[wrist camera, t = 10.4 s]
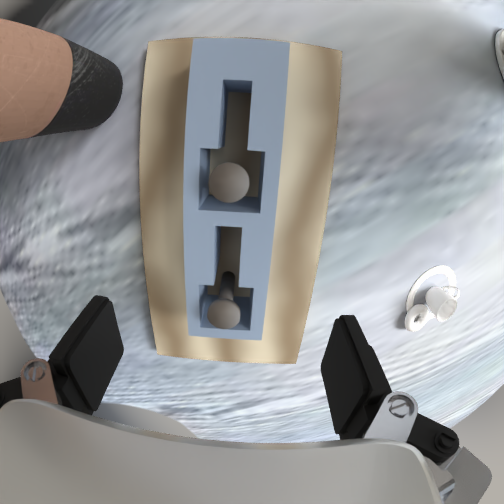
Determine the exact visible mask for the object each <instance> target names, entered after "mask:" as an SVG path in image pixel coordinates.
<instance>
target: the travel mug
mask: <svg viewBox="0 0 504 504" xmlns="http://www.w3.org/2000/svg"><path fill="white" fill-rule="evenodd" d="M122 88H123V82H122V76H121V73H120V71H119V69H118V67H117V66H116V65H115V64H114V63H112V62H111V61H109V60H108V59H106V58H104V57H102V56H100V55H98V54H96V53H94V52H92V51H90V50H88V49H86V48H84V47H82V46H80V45H78V44H76V43H74V42H71V41H69V40H67V39H65V38H63V37H60V36H58V35H55V34H52V33H49V32H47V31H44V30H40V29H37V28H34V27H30V26H27V25H24V24H20V23H17V22H13V21H9V20H5V19H1V18H0V142H4V141H11V140H17V139H24V138H30V137H36V136H42V135H48V134H54V133H61V132H69V131H77V130H85V129H90V128H93V127H96V126H98V125H100V124H101V123H103V122H104V121H105V120H106V119H108V118H109V117H110V115H111V114H112V113H113V112H114V110H115V109H116V107H117V105H118V103H119V100H120V98H121V94H122Z"/></svg>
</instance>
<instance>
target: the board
mask: <svg viewBox="0 0 504 504" xmlns="http://www.w3.org/2000/svg"><path fill="white" fill-rule="evenodd" d="M194 38H243V37H194ZM248 39H260V38H248ZM263 40H271V39H263ZM274 41H281V40H274ZM283 42H289V41H283ZM192 46H193V38H178V39H166V40H157V41H149V42H148V48H147V55H146V63H145V72H144V81H143V92H142V104H141V121H140V149H139V185H140V214H141V231H142V245H143V256H144V267H145V276H146V284H147V292H148V300H149V307H150V314H151V320H152V326H153V332H154V338H155V343H156V349H157V354H158V355H165V356H173V357H182V358H191V359H201V360H213V361H226V362H244V363H276V364H296V361H297V357H298V353H299V349H300V345H301V341H302V337H303V333H304V328H305V324H306V320H307V315H308V311H309V306H310V301H311V296H312V292H313V287H314V282H315V277H316V272H317V266H318V261H319V256H320V250H321V244H322V238H323V233H324V226H325V220H326V214H327V207H328V200H329V193H330V186H331V179H332V171H333V162H334V154H335V145H336V135H337V124H338V113H339V100H340V85H341V66H342V51H339V50H334V49H330V48H325V47H320V46H314V45H309V44H303V43H296V42H290V51H289V66H288V80H287V94H286V107H285V119H284V131H283V143H282V155H281V166H280V177H279V187H278V197H277V208H276V218H275V227H274V237H273V246H272V256H271V265H270V274H269V283H268V291H267V300H266V308H265V317H264V325H263V333H262V340H242V339H225V338H211V337H199V336H189V334H188V322H187V307H186V290H185V269H184V234H183V181H184V147H185V126H186V110H187V96H188V84H189V73H190V64H191V54H192ZM251 95H252V93H241V92H228V104H227V118H226V133H225V146H224V147H221V148H219V149H211V151H210V173H209V194H211V195H213V196H214V197H215V198H216V199H218V200H219V201H222V202H225V203H233V202H236V201H238V200H240V199H242V198H243V197H244V196H248V197H258V188H259V175H260V162H261V151H251V150H247V148H248V134H249V121H250V108H251ZM241 239H242V227H229V226H221V236H220V258H219V263H218V268H217V272H216V277H215V282H214V286H213V285H207V286H208V294H209V295H219V296H218V299H217V300H214V301H213V302H212V303H211V304H210V305H209V308H208V312H207V318H208V320H209V322H210V323H211V324H212V325H213V326H215V327H217V328H219V329H230V328H233V327H234V326H236V325H237V324H238V323H239V321H240V308H239V306H238V305H237V304H236V303H235V302H234V301H233V297H234V296H240V297H250V288H246V287H239V272H240V255H241Z"/></svg>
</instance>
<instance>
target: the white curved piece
mask: <svg viewBox="0 0 504 504" xmlns="http://www.w3.org/2000/svg"><path fill="white" fill-rule="evenodd" d="M434 274H444V275H446V276H447V278H448V279H449V284H450V286H445V287H441V288H440V287H436V286H434V287H432V288H430V289H429V290H428V291H427V293H426V296H425V299H426V303H427V305H428V307H429V308H430V310H431V311H432V312H431V313H429V311H428V308H427V307H426V306H425V305H423V304H417V305H415V306H414V305H413V301H414V296H415V294H416V291H417V290H418V288H419V286H420V285H421V284H422V283H423V282H424V281H425V280H426V279H427V278H428V277H430V276H432V275H434ZM444 289H449V292H448V293H447V292H446V291H445V290H444ZM455 290H457V291H458V293H457V295H456V296H453V294H454V291H455ZM459 295H460V292H459V289H458V288H457V287H456V277H455V274H454V272H453V270H452V269H451V268H449V267H447V266H443V265H441V266H436V267H433V268H431V269H429V270H428V271H426V272H425V273H424V274H422V275H421V276H420V277H419V278H418V279H417V281H416V282H415V283H414V285H413V286H412V288H411V290H410V292H409V294H408V297H407V302H406V310H407V315H406V317H405V327H406V329H407V330H408V331H411V332H415V331H418V330H419V329H421V328H422V327H423V326H424V325H425V323H426V322H427V320H430V319H432V318H434V317H436V318H437V320H438V321H441V322H443V321H446V320H447V319H449V318H450V317H451V316H452V315H453V314H454V312H455V310H456V308H457V301H456V299H457V298H458V297H459ZM414 321H415V322H414Z"/></svg>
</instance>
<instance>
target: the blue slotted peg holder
mask: <svg viewBox="0 0 504 504" xmlns="http://www.w3.org/2000/svg"><path fill="white" fill-rule="evenodd" d="M289 51H290V42H283V41H274V40H263V39H248V38H193V46H192V54H191V64H190V73H189V84H188V96H187V110H186V126H185V147H184V181H183V234H184V269H185V290H186V307H187V322H188V334H189V336H199V337H211V338H225V339H242V340H262V333H263V325H264V317H265V308H266V300H267V291H268V283H269V274H270V265H271V256H272V246H273V237H274V227H275V218H276V208H277V197H278V187H279V177H280V166H281V155H282V143H283V131H284V119H285V107H286V94H287V80H288V66H289ZM228 92H241V93H252V95H251V108H250V121H249V134H248V148H247V150H251V151H261V162H260V175H259V188H258V197H248V196H244V197H243V198H242V199H240V200H238V201H236V202H233V203H225V202H222V201H219V200H218V199H216V198H215V197H214V196H213V195H211V194H209V173H210V151H211V149H219V148H221V147H224V146H225V133H226V118H227V104H228ZM221 226H229V227H242V239H241V255H240V272H239V287H246V288H250V297H240V296H234V297H233V301H234V302H235V303H236V304H237V305H238V306H239V308H240V321H239V323H238V324H237V325H236V326H234V327H233V328H230V329H219V328H217V327H215V326H213V325H212V324H211V323H210V322H209V320H208V318H207V312H208V308H209V305H210V304H211V303H212V302H213V301H214V300H217V299H218V296H219V295H209V294H208V286H207V285H213V286H214V282H215V277H216V272H217V268H218V263H219V258H220V236H221Z"/></svg>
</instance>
